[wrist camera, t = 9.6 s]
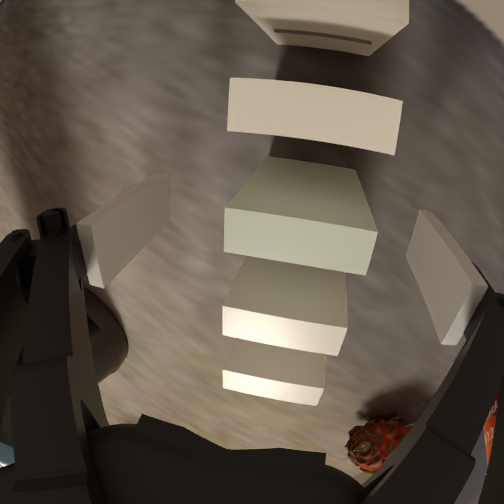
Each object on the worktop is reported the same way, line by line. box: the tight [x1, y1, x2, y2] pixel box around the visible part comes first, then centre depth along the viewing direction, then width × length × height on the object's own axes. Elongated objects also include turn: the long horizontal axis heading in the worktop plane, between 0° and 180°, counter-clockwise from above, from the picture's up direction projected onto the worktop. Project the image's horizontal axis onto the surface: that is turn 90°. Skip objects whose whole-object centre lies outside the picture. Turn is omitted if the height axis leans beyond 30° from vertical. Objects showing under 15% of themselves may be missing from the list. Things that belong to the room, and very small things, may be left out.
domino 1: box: [235, 0, 409, 56], centre depth 11 cm, size 6×2×10 cm, turn 87°
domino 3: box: [224, 156, 378, 276], centre depth 16 cm, size 6×2×10 cm, turn 87°
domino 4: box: [223, 256, 348, 356], centre depth 19 cm, size 6×2×10 cm, turn 87°
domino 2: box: [227, 78, 403, 155], centre depth 14 cm, size 6×2×10 cm, turn 87°
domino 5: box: [223, 338, 327, 406], centre depth 21 cm, size 6×2×10 cm, turn 87°
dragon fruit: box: [344, 416, 413, 476], centre depth 30 cm, size 8×8×12 cm
